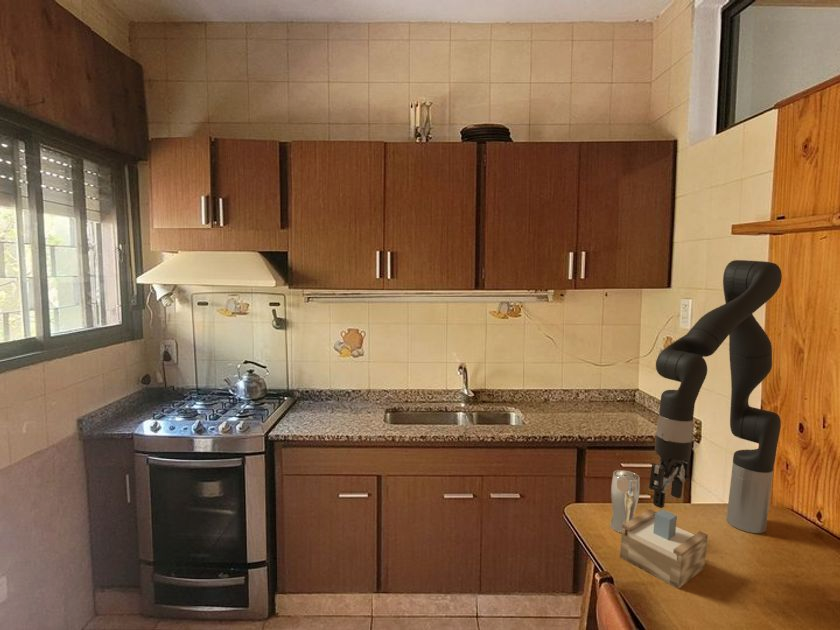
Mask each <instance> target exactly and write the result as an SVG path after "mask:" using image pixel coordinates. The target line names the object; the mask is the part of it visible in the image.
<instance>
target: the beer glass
mask: <svg viewBox="0 0 840 630" xmlns="http://www.w3.org/2000/svg"><path fill="white" fill-rule="evenodd" d="M640 488H641V487H640V476H639V475H638V474H637V473H634V472H632V471H630V470H624V469H623V470H621V469H616V470H614V471H613V473H612V480H611V487H610V498H611V506H612V516H611V520H610V522H609V527H610V526H611V527H610V528H611V530H613V529H614V530H615V532H616V531H617V533H619V532H620V533H619V534H622V525H623V524H624V523H626V522H628V521H630V520H632V519H633V518H635V513H636V510H637V506H638V502H639V498H640ZM614 530H613V531H614Z"/></svg>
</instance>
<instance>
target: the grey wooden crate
mask: <svg viewBox="0 0 840 630" xmlns="http://www.w3.org/2000/svg"><path fill="white" fill-rule="evenodd" d="M657 512H658V511H654V510H652V509H648V510H646V511H644V512H643V513H641V514H639V515H637V516H636V517H635V516H634V518H633V519H632V520H630V521H628V522H626V523H624V524H623V525H622V533H621V539H620V551H619V558H621V559H622V558H623V560H625V561H626V562H628V563H630V564H632V565H633V566H636V567H638V568H640V569H641V570H644V571H645V572H646V573H648V574H650V575H652V576H655V578H658V579H659V580H661V581H663V582H665V583H667V584H668V585H670V586H673V587H674V588H676V589H680V588H681V587H683V586H684V585H685V584H687V582H688V581H690V580H692V578H695V576H696V575H698V574H699V573H701V571H703V570H704V569H705V565H706V557H707V555H706V554H707V547H708V537H709V536H708V535H709V534H707V533H705V532H702V531H698V532H696V533H695V534H694V536H692V537H691V538H689V539H688V540H686V541H685V542H683V543H682V544H681V545H679V546H678V547H676V548H675V549H674V551H673V553H675V554H677V555H678V560H675V559H673V558H671V557H669V556H667V555H665V554H663V553H661V552H659V551H657V550H655V549H653V548H651V547H649V546H647V545H645V544H643V543H641V542H639V541H637V540H635V539H633V538H631V537H629V536H627V531H630V530H632V529H634V528H635V527H637V526H639V525H641V524H642V523H644V522H646V521H648V520H649V519H651V518H653V517H655V513H657Z"/></svg>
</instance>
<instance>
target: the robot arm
mask: <svg viewBox="0 0 840 630" xmlns="http://www.w3.org/2000/svg"><path fill="white" fill-rule="evenodd" d="M782 273H783V272H782V270H781V267H780V266H779V265H778V264H776V263H774V262H770V261H764V260H763V261H761V260H760V261H759V260H745V259H741V260H740V259H734V260H731V261H730V262H729V263H728V264H727V265H726V266H725V268H724V272H723V279H722V287H723V288H722V289H723V295H724V301H725V304H722V305H720V306H718V307H715V308H714V309H712V310H710V311H708V312H707V313H705V314H703V316H701V317H700V318H699V319H698V320H697V321H696V322H695V323H694V325H693V326H692V327H691V328H690V330H689V331H688V332H687V333H685V335H683V336H682V337H679V338H678V339H676V340H675V341H674V342H672V343H670V344H669V345H667V346H666V347H665V348H663V350H662V351H660V353H659V354H658V356H657V358H656V360H655V369H656V372H657V374H658V375H659V376H661V378H665V379H668V380H671V381H675V382H679V383H680V385H679V387H678V388H677V389H666V390H664V391H663V392H662V393H661V394H660V395H661V396H660V402H659V412H658V413H659V414H658V418H657V422H656V432H655V439H654V440H655V443H654V452H655V454H657V455H658V456H659V458H660V459H659V463H658V464H656V463H654V462H653V463H652V465H651V469H650V475H649V476H650V477H649V485H648V488H649V490H652V491H653V501H652V503H653V505H654V506H655V507H657V508H660V509H663V508H664V507H665V500H666V491H667V488H668V487H669V486H671V488H670V495H671V496H672V497H674V498H676V499H680V498H682V495H683V487H684V486H683V484H684V483H685V481H686V480H688V479H689V476H690V475H689V474H690V463H691V462H690V461H691V457H692V456H691V454H692V445H693V435H694V412H695V407H696V406H695V405H696V401H697V398H698V396H699V393H700V392H701V389H702V387H703V384H704V382H705V380H706V378H707V374H708V364H707V362H706V360H705V358H706V357H710V356H712V355H713V354H715V352H716V351H717V350H718V348H719V347H720V346H721V345H722V344H723V343H724V342H725V340H726V339H729V341H728V343H729V344H728V346H729V349H728V351H729V368H730V379H731V380H730V383H731V384H730V385H731V388H730V389H731V393H730V394H731V395H730V415H729V427H730V431H731V434H732V435H733V436H734V437H736V438H738V439H741V440H745V441H748V442H753V443H756V444H759V445H758V448H755V449H739V450H735V452H734V453H733V457H732V464H731V465H732V466H731V467H732V468H731V477H730V485H729V493H728V503H727V512H726V522H727V523H728V524H730V525H731V526H732V527H733V528H736V529H738V530H740V531H744V532H747V533H752V534H763V533H765V532H766V530H767V525H768V516H769V508H770V507H769V506H770V501H771V491H772V482H773V476H774V475H773V474H774V467H775V466H774V465H775V461H776V456H777V448H778V443H779V438H780V433H781V428H782V427H781V426H782V425H781V424H782V421H781V420H782V419H781V418H780V415H779V414H778V413H776V412H775V411H771V410H765V409H762V408H757V407H752V406H750V404H749V400H750V399H749V398H750V395H751V394H752V393H753V391H754V390H755V389H756V388H757V387H758V386H759V385H760V383H762V382H763V381H764V380H765V379H766V378H767V376H768V375H769V374H770V373H771V370H772V367H773V347H772V342H771V340H770V337H769V336H768V335H767V333H766V331H765V329H763V327H762V326H761V324H760V322H758V321H757V319H756V317H755V316H754V313H755V312H756V311H757V310H758V309H760V308H761V307H762V306H763V305H765V304H766V303H767V302H768V301H769V300H771V298H772V297H774V296H775V295H776V293H777V292H778V291H779V288H780V286H781V284H782V280H783V279H782V278H783V277H782V276H783V275H782ZM728 337H729V338H728Z"/></svg>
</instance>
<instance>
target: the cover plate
mask: <svg viewBox="0 0 840 630" xmlns="http://www.w3.org/2000/svg"><path fill="white" fill-rule="evenodd" d="M656 512H657V513H655V516H654V517H653V518H651V519H649V520H648V521H646V522H644V523H642V524H641V525H639V526H637V527H635V528H634V529H632V530H630V531H627V536H629V537H631V538H633V539H635V540H637V541H639V542H641V543H643V544H645V545H647V546H649V547H651V548H653V549H655V550H657V551H659V552H661V553H663V554H665V555H667V556H669V557H671V558H673V559H675V560H678V555H677V554H675V553H673V551H674V549H675V548H676V547H678V546H679V545H681V544H682V543H683V542H685V541H686V540H688V539H689V538H691V537H692V536H694V535H695V534H693V533H691V532H689V531H687V530H684V529H683V528H680V527H677V518H678V515H677V514H674V513H672V512H670V511H667V510H665V509H663V508H661V509H660V510H659V511H656Z"/></svg>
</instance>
